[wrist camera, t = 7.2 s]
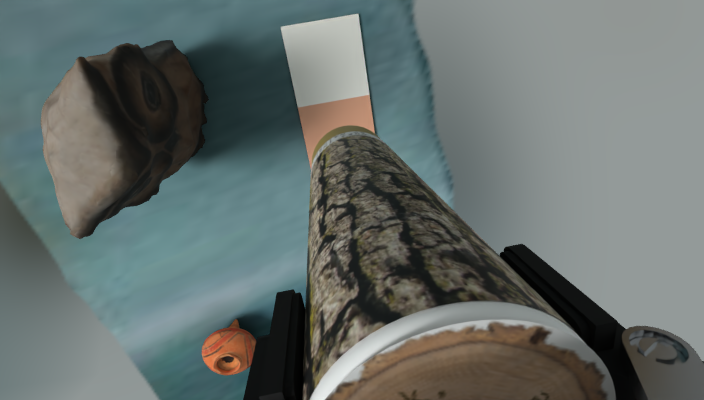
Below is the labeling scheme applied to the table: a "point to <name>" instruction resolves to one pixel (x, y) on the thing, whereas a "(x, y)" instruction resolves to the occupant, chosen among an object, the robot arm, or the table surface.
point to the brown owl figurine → (120, 130)
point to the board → (328, 76)
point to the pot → (229, 350)
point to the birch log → (421, 296)
